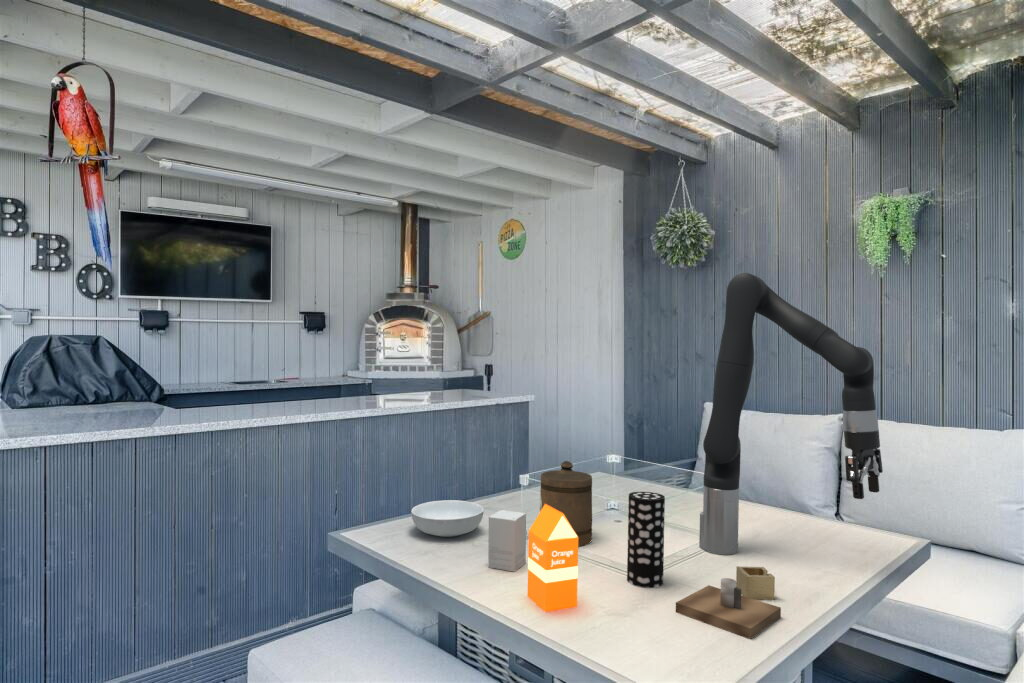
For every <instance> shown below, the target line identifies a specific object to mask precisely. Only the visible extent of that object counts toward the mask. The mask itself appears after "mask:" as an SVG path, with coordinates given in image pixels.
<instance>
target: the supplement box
mask: <svg viewBox="0 0 1024 683" xmlns="http://www.w3.org/2000/svg"><path fill="white" fill-rule="evenodd" d="M526 545H527V513H525V512H518V511H510V510H503V509H499V510H498V511H496V512H495V513H493V514H491V515H489V516H488V560H487V561H488V563H487V564H488V568H490V569H497V570H502V571H508V572H512V573H513V572H516V571H517V570H519V569H520V568H522V566H524V565H525V564H526V561H527V560H526V557H527V555H526V554H527V553H526V552H527V550H526V548H527V546H526Z"/></svg>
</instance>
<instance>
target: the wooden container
mask: <svg viewBox="0 0 1024 683" xmlns="http://www.w3.org/2000/svg"><path fill="white" fill-rule="evenodd" d="M560 467H561V469H559V470H549V471H544V472H542V473H541V474H540V490H539V491H540V492H539V493H540V494H539V495H540V496H539V513H540V512H541V510H542V508H543V507H544V505H545V504H547V505H549V506H551V507H552V508H554V509H556V510H558V511H560V512H562V513H563V514H564V516H565V517H566V519H567V520H568V522H569V523H570V525H571V527H572V528H573V530H574V531H575V533H576V535H577V536H578V548H579V547H583V545H584V546H586V545H585V544H587V545H588V543H589V542H590V541H591V540H593V477H592V475H591V474H589V473H586V472H582V471H575V470H573V467H574V465H573V463H572V462H571V461H568V460H567V461H566V460H565V461H562V462H561V463H560ZM591 542H592V541H591ZM591 542H590V543H591ZM590 543H589V544H590Z"/></svg>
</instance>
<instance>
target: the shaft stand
mask: <svg viewBox="0 0 1024 683" xmlns="http://www.w3.org/2000/svg"><path fill="white" fill-rule="evenodd" d="M675 613H677V614H680V615H682V616H686V617H688V618H691V619H694V620H697V621H700V622H702V623H703V624H708V625H711V626H714V627H717V628H718V629H722V630H724V631H727V632H730V633H732V634H735V635H738V636H741V637H744V638H747V639H750V640H751V639H752V638H754V637H756V636H757V635H758V634H760V633H761V632H763V630H765V629H766V628H768V627H769V626H771V625H772V624H773V623H775V622H776V621H777V620H779V619H781V615H782V608H781V607H780V606H777V605H773V604H770V603H767V602H764V601H760V600H757V599H752V598H748V597H745V596H743V595H742V594H741V589H740V588H737V587H736V579H733V578H727V577H724V578H723V577H722V578H721V579H720V587H715V586H713V585H710V584H708V585H706V586H704V587H702V588H700V589H699V590H697V591H694V592H693V593H691V594H690V595H687V596H685V597H683V598H682V599H680V600H678V601H676V602H675Z"/></svg>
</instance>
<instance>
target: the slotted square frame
mask: <svg viewBox="0 0 1024 683" xmlns="http://www.w3.org/2000/svg"><path fill="white" fill-rule="evenodd" d="M735 576H736V578H735V581H736V587H737V588H740V589H741V595H742V596H745V597H748V598H752V599H755V600H758V601H760V600H765V601H766V600H767V601H774V600H775V591H776V590H775V586H776V585H775V584H776V578H775V576H774V575H773V574H772V573H768V569H767V568H765V567H764V566H740V565H739V566H736V575H735Z"/></svg>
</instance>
